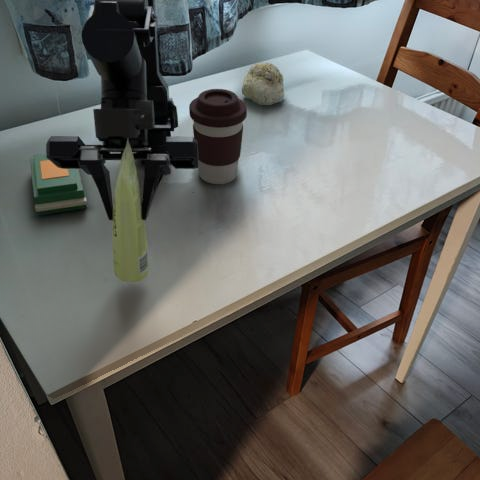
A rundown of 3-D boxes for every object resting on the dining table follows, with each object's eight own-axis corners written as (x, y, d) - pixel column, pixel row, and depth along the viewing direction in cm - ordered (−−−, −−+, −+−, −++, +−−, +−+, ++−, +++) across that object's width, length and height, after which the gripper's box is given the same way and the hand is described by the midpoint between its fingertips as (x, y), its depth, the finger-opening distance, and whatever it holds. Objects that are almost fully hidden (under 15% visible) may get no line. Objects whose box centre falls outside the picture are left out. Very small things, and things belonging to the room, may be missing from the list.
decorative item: (234, 68, 124) (273, 49, 122) (248, 103, 130) (286, 86, 127) (236, 82, 115) (278, 63, 113) (251, 119, 120) (292, 101, 118)
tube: (104, 266, 77) (92, 148, 62) (132, 252, 79) (128, 136, 64) (127, 289, 74) (121, 172, 60) (156, 274, 77) (156, 158, 62)
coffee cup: (184, 166, 101) (180, 88, 90) (231, 157, 104) (233, 81, 93) (202, 193, 95) (200, 113, 84) (252, 183, 98) (256, 104, 87)
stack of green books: (79, 167, 100) (74, 144, 96) (88, 211, 90) (83, 187, 87) (33, 173, 98) (26, 150, 94) (38, 219, 88) (31, 195, 85)
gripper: (29, 70, 59) (33, 210, 59) (195, 72, 60) (197, 209, 61) (57, 106, 70) (61, 223, 71) (197, 107, 71) (199, 223, 72)
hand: (127, 219), depth 68 cm, fingers closed on tube, 4 cm apart
